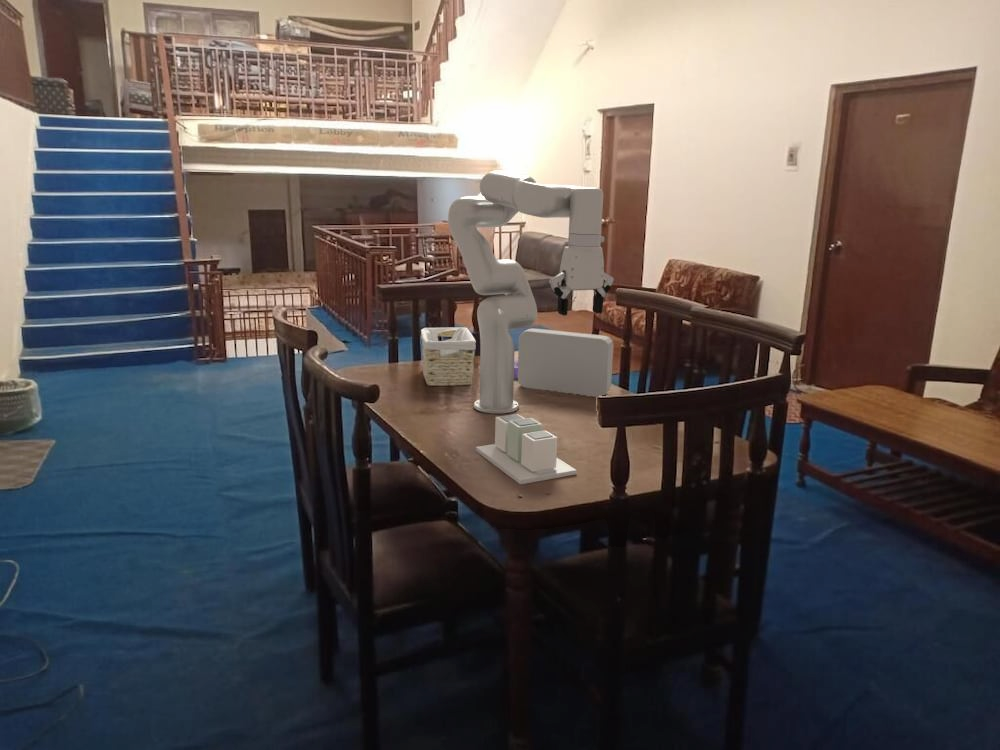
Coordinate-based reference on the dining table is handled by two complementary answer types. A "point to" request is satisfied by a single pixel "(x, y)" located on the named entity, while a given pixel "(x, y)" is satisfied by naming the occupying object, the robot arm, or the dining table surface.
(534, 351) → the rounded white slab
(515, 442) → the block
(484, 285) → the robot arm
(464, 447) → the dining table surface
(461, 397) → the dining table surface
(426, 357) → the storage basket
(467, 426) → the dining table surface
